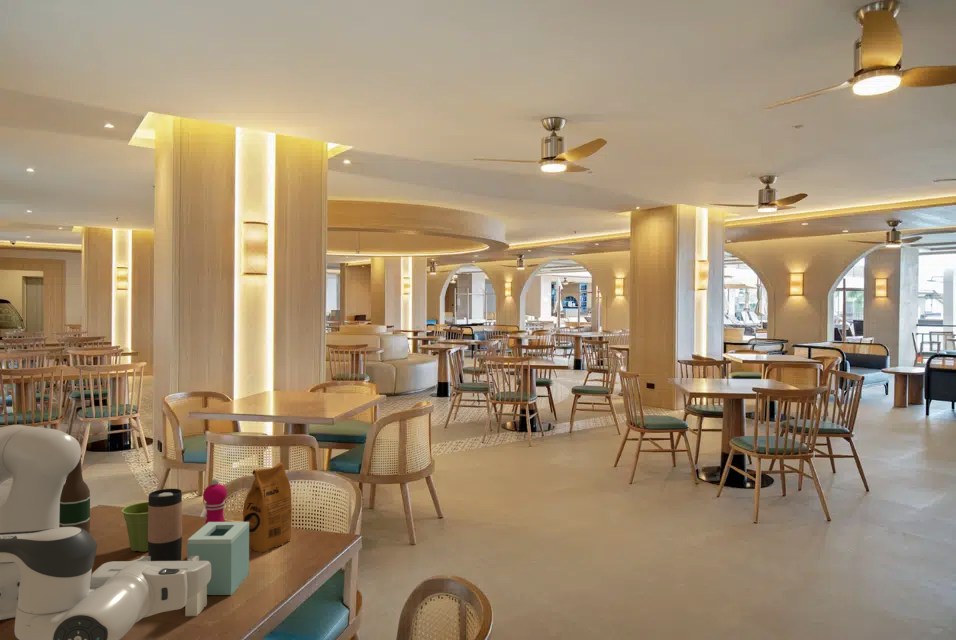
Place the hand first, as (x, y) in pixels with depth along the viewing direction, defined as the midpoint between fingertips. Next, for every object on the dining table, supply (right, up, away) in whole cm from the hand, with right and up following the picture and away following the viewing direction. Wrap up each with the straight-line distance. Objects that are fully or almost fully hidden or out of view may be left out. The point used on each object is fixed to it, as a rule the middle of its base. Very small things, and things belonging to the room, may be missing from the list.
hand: (171, 559), depth 121 cm
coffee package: (+1, -16, +51) cm, 54 cm away
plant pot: (-31, -16, +48) cm, 60 cm away
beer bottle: (-57, -16, +56) cm, 81 cm away
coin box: (-1, -16, +25) cm, 30 cm away
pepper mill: (-11, -16, +45) cm, 49 cm away
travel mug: (-18, -16, +32) cm, 40 cm away
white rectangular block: (-1, -16, +12) cm, 20 cm away
